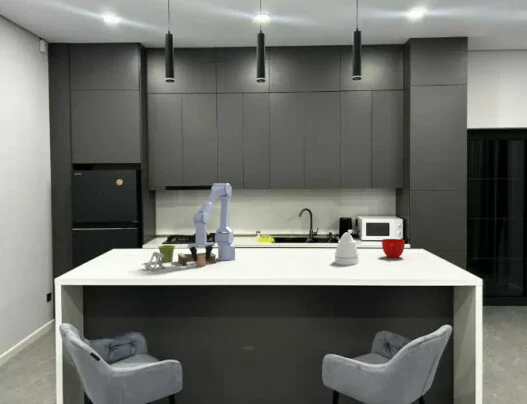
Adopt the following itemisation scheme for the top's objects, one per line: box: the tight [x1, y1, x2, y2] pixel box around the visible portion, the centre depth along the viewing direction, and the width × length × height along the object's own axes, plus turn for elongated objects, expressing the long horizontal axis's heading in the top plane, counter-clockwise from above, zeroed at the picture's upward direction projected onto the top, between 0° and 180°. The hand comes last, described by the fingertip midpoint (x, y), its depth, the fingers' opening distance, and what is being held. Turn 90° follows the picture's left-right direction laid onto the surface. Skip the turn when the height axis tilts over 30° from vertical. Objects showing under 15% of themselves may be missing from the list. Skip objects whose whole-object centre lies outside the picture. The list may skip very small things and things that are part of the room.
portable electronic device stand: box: [144, 251, 165, 272], centre depth 234 cm, size 9×8×8 cm
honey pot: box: [334, 229, 359, 266], centre depth 249 cm, size 13×13×18 cm
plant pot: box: [157, 244, 176, 263], centre depth 255 cm, size 9×9×9 cm
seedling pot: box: [195, 254, 206, 268], centre depth 242 cm, size 6×6×6 cm
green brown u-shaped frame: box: [177, 251, 217, 266], centre depth 252 cm, size 18×14×5 cm
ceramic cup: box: [381, 238, 406, 259], centre depth 264 cm, size 13×17×10 cm
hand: (201, 260), depth 241 cm, fingers open, 7 cm apart
